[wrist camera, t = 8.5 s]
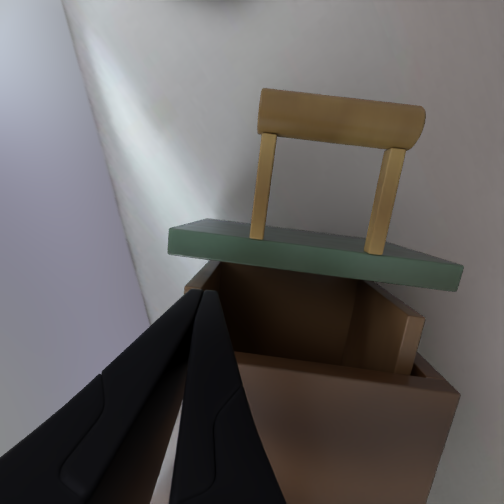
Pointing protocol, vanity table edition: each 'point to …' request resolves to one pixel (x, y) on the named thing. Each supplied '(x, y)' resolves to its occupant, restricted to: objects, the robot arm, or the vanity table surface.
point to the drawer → (320, 250)
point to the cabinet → (342, 430)
